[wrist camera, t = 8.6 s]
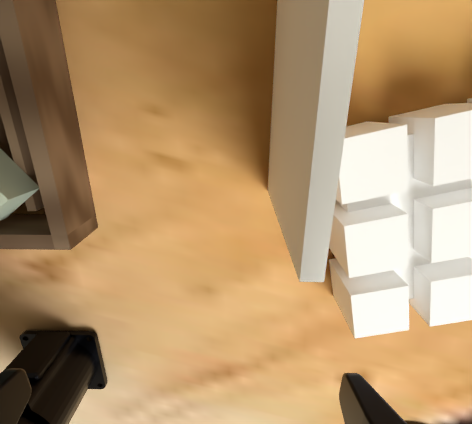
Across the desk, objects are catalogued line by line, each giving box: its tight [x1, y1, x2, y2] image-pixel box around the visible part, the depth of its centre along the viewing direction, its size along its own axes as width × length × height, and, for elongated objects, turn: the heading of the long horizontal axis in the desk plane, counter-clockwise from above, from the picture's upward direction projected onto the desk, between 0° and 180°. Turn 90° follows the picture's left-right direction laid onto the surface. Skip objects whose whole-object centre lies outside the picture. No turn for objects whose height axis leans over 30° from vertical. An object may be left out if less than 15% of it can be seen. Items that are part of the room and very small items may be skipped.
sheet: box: [268, 0, 364, 282], centre depth 12 cm, size 12×1×11 cm, turn 0°
